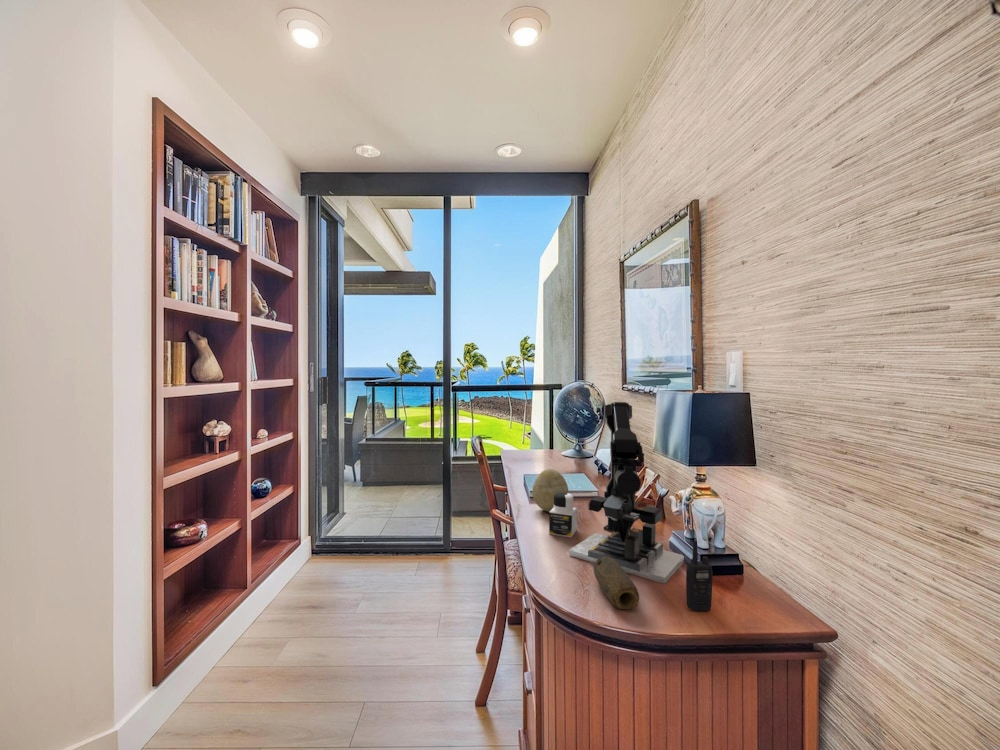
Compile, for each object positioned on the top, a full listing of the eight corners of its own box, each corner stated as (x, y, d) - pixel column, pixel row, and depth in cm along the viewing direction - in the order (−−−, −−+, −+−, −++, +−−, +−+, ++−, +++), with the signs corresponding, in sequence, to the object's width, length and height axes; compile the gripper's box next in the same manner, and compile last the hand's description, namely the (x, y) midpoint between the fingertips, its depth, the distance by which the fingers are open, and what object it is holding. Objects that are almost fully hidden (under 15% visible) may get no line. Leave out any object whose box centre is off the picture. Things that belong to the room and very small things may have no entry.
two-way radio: (689, 612, 98) (690, 542, 97) (680, 601, 102) (681, 534, 102) (715, 612, 98) (716, 542, 97) (704, 601, 102) (705, 534, 102)
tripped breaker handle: (633, 545, 125) (633, 527, 125) (642, 548, 123) (642, 529, 123) (629, 549, 122) (629, 530, 122) (638, 551, 121) (638, 532, 121)
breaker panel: (596, 537, 139) (596, 510, 139) (685, 560, 123) (685, 530, 123) (568, 556, 126) (568, 526, 125) (663, 584, 110) (664, 550, 109)
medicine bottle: (548, 534, 141) (549, 495, 141) (555, 526, 148) (555, 489, 148) (571, 537, 139) (572, 498, 138) (577, 529, 145) (577, 492, 145)
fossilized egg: (570, 516, 157) (570, 473, 157) (533, 516, 157) (533, 473, 157) (565, 505, 170) (566, 464, 170) (531, 505, 170) (531, 464, 170)
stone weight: (587, 582, 111) (588, 554, 111) (614, 579, 113) (615, 552, 112) (614, 615, 97) (614, 584, 96) (645, 612, 98) (645, 581, 98)
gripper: (579, 484, 124) (578, 541, 124) (647, 497, 112) (646, 560, 113) (598, 475, 133) (597, 529, 133) (663, 487, 121) (662, 545, 121)
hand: (623, 540), depth 125 cm, fingers closed
